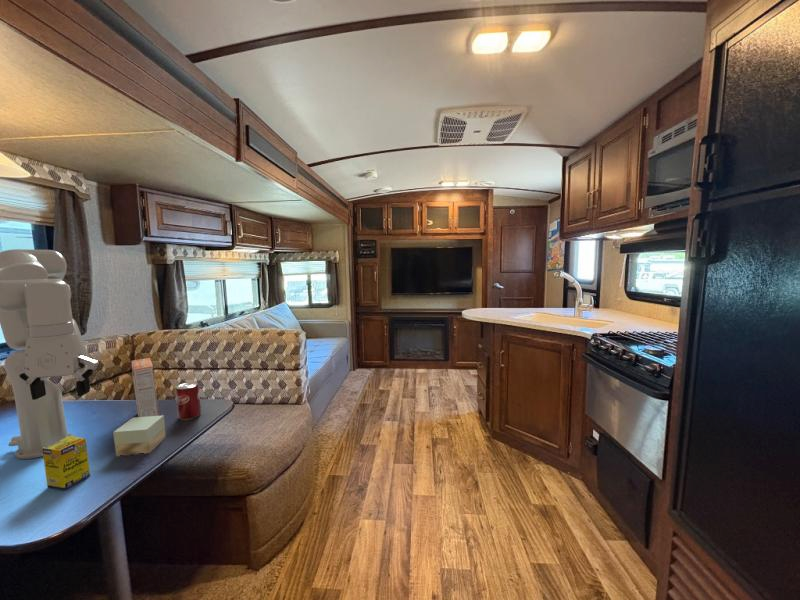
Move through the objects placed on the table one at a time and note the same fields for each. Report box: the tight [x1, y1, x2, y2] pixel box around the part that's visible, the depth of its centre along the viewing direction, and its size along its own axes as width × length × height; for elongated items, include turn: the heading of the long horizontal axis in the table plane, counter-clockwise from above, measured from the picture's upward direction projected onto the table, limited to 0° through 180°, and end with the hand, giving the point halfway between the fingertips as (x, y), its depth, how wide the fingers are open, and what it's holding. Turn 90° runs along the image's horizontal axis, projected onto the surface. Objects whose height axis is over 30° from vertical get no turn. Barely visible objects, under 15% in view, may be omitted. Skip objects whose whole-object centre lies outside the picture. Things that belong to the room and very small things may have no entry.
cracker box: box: [131, 357, 160, 417], centre depth 120 cm, size 14×6×21 cm, turn 41°
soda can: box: [174, 381, 202, 421], centre depth 121 cm, size 7×7×12 cm
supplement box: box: [42, 436, 91, 491], centre depth 85 cm, size 6×6×11 cm
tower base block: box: [114, 426, 166, 457], centre depth 102 cm, size 9×9×4 cm
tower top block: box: [112, 414, 166, 446], centre depth 101 cm, size 9×9×4 cm
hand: (61, 395), depth 84 cm, fingers open, 9 cm apart
